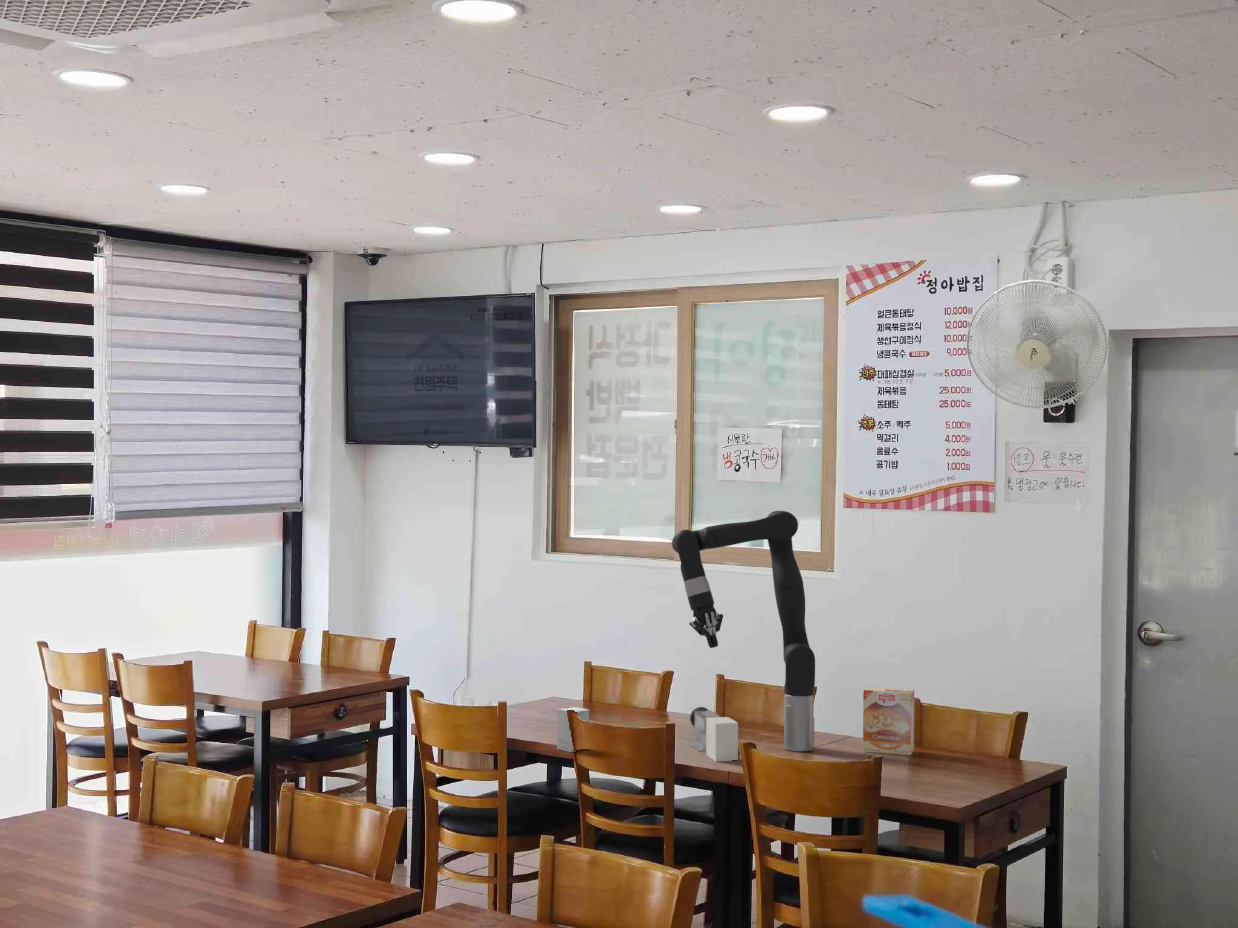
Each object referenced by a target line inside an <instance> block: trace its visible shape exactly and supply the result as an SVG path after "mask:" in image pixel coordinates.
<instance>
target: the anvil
mask: <svg viewBox="0 0 1238 928" xmlns="http://www.w3.org/2000/svg"><path fill="white" fill-rule="evenodd" d="M714 717H721V716H720V715H719V714H717V713H716V712H714V711H713V710H712V709H711V710H710V709H708V711H695V727H694V729H695V731H694V733H695V734H694V737H695V739H694V740H695V741H692V742H691V741H690V742H687V744H688V746H690V747H691V746H692V747H691V748H692V749H694V750H695V751H697V752H701V751H703V752H706V718H714ZM701 753H702V752H701Z"/></svg>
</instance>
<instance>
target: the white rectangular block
mask: <svg viewBox="0 0 1238 928" xmlns="http://www.w3.org/2000/svg"><path fill="white" fill-rule="evenodd" d="M705 755H706V756H707V757H708V758H710V759H711V760H712V761H714V762H733V761H732V760H738V759H739V723H738V722H737V721H736V720H734V719H732V718H730V717H728V716H720V717H714V718H706V751H705ZM738 761H739V760H738Z"/></svg>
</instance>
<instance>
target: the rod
mask: <svg viewBox="0 0 1238 928" xmlns="http://www.w3.org/2000/svg"><path fill="white" fill-rule="evenodd" d="M708 710H709V709H708V708H706V707H704V706H698V707H696V708H694V709H693V710H692V711H691V713H690V715H689V721H690V724H691V725H692V727H694V728H695V711H708Z"/></svg>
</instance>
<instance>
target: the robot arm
mask: <svg viewBox="0 0 1238 928" xmlns="http://www.w3.org/2000/svg"><path fill="white" fill-rule="evenodd" d="M798 528H799V522H798V519H797V518H796V516H795V515H794V514H792V513H791V512H789V511H785V510H775V511H772V512H770V513H769V514H768V515H766V517H764V518H760V519H756V520H749V521H741V522H729V523H721V524H716V525H710V526H706V527H703V528H701V529H697V530H696V529H695V530H690V529H682V530H679V531H678V532H677V533H676V534H675V535H674V536H673V538H672V540H671V546H672V549H673V550H674V551H675V552H676V553H677V554H678V557H679V560H680V573H681V576H682V579H683V583H684V589H685V593H686V597H687V599H688V604H689V607H690V610H691V611H692V612H693V614H692V617H693V618H692V621H689V626H690V627H691V628H692V629H694V631H696V633H697V634H698V635H700V636H701V637H702V636H704V637H705V638H706V642H707V645H708V647H709V648H710V649H714V648H717V647H718V646H719V641H718V638H717V633H718V632H719V631H720V630H721V626H722V623H723V618H724V614H723V613H718V612H717V610H716V608H715V607H714V606H715V600H714V596H713V593H712V590H711V587H710V583H709V581H708V578H707V576H706V573H705V569H704V565H703V562H702V559H701V551H705V550H710V549H717V548H724V547H729V546H734V545H739V544H743V543H749V542H753V541H754V542H755V541H762V540H767V543H768V547H769V553H770V557H771V567H772V569H771V570H772V578H773V589H774V596H775V602H776V608H777V611H778V616H779V620H780V623H781V630H782V641H783V645H782V646H783V647H782V648H783V649H782V650H783V653H782V654H783V662H784V663H785V664H784V665H785V679H784V680H785V681H784V687H783V688H784V689H783V692H784V694H783V695H784V702H783V704H784V705H783V706H784V707H783V708H784V713H783V715H784V717H783V718H784V719H783V720H784V722H783V724H784V725H783V727H784V728H783V748H784V749H785V750H787V751H792V752H809V751H813V750H814V748H815V717H814V716H815V715H814V713H815V712H814V711H815V708H814V706H815V704H814V703H815V700H814V699H815V698H814V697H815V692H814V691H815V685H816V656H815V653H814V651H813V650H812V649H811V646H810V644H809V639H808V634H807V631H806V630H807V629H806V622H805V621H806V595H805V594H806V593H805V588H804V580H803V577H802V574H801V570H800V568H799V565H798V563H797V560H796V558H795V554H794V547H793V537H794V536H795V535H796V533H797V532H798Z"/></svg>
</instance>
